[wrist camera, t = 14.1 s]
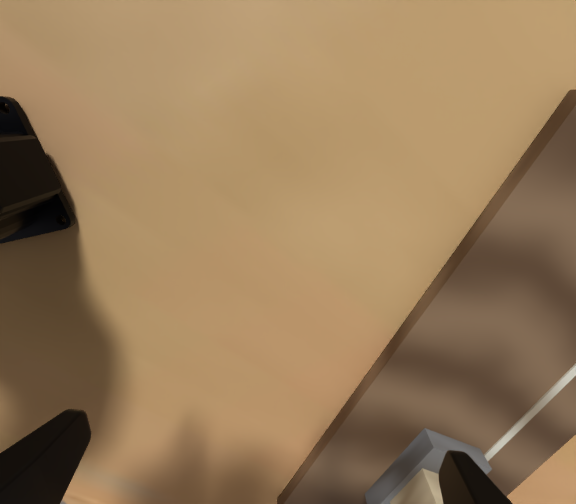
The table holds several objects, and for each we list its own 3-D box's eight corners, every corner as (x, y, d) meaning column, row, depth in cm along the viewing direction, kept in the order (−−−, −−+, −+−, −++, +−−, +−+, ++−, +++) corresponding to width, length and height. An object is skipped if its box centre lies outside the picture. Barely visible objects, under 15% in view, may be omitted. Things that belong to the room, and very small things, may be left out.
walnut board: (434, 542, 30) (440, 557, 29) (277, 499, 27) (277, 514, 26) (779, 223, 19) (807, 229, 18) (570, 90, 16) (589, 88, 15)
